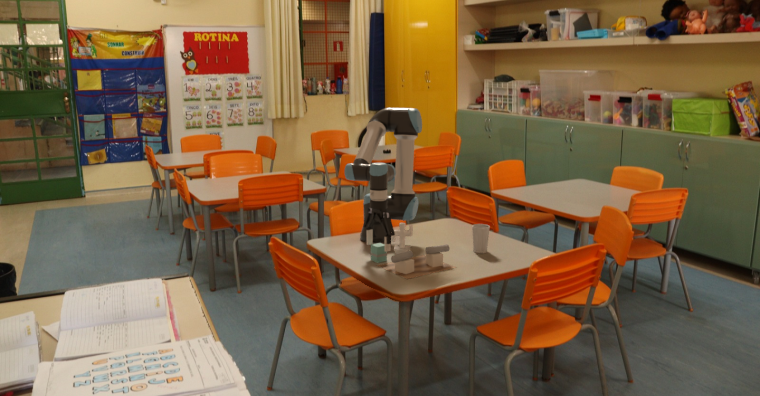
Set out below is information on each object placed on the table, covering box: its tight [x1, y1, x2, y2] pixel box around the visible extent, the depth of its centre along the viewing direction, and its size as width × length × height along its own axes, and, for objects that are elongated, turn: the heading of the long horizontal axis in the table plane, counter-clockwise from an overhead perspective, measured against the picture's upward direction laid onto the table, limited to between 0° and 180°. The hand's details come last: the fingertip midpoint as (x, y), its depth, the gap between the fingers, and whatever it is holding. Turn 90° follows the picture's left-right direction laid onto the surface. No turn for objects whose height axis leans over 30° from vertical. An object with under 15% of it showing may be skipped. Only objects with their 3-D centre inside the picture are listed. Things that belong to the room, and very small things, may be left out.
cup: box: [471, 223, 491, 254], centre depth 286 cm, size 8×8×12 cm
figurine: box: [391, 222, 414, 255], centre depth 280 cm, size 7×9×15 cm
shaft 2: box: [425, 244, 450, 267], centre depth 264 cm, size 10×6×8 cm, turn 115°
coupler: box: [369, 242, 388, 263], centre depth 270 cm, size 5×5×8 cm
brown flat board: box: [375, 254, 457, 280], centre depth 262 cm, size 22×26×1 cm
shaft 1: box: [390, 250, 414, 274], centre depth 254 cm, size 10×6×8 cm, turn 135°
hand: (378, 247), depth 269 cm, fingers open, 13 cm apart
